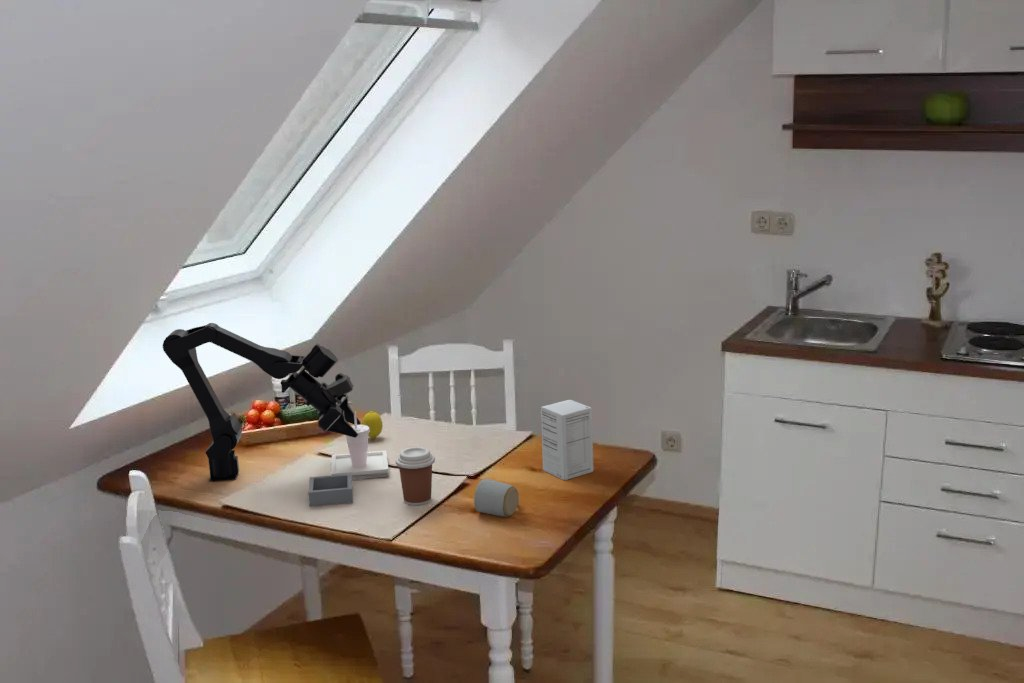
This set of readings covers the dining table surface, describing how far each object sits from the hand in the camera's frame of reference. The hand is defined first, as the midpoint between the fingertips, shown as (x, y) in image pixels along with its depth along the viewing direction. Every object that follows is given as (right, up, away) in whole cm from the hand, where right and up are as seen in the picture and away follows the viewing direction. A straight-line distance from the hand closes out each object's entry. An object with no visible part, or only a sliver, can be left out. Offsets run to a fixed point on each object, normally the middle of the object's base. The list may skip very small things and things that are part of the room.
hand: (358, 430), depth 266 cm
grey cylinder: (+36, -16, -26) cm, 47 cm away
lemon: (0, -5, +25) cm, 26 cm away
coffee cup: (+17, -15, -19) cm, 29 cm away
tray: (0, -10, +2) cm, 10 cm away
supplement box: (+53, -10, -4) cm, 54 cm away
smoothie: (0, -9, +2) cm, 9 cm away
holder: (-4, -15, -15) cm, 21 cm away
